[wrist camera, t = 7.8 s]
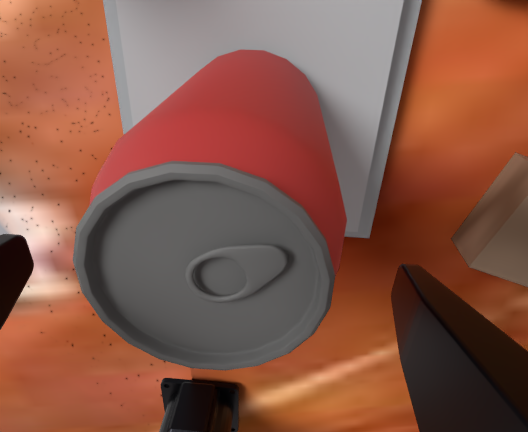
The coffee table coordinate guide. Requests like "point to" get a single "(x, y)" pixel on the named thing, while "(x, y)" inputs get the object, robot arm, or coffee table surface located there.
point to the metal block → (499, 226)
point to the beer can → (218, 219)
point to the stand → (291, 48)
